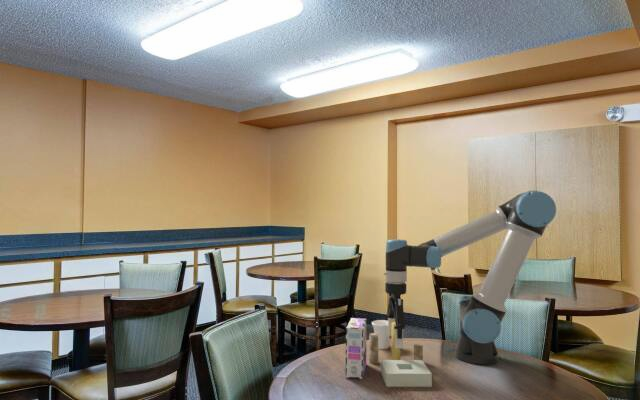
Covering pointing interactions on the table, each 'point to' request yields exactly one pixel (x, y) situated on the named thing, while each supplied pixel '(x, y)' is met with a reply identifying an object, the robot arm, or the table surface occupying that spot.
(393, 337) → the pin long
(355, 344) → the candy box
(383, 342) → the cup
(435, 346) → the table surface
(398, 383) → the socket block
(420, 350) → the pin short
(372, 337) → the pin medium
